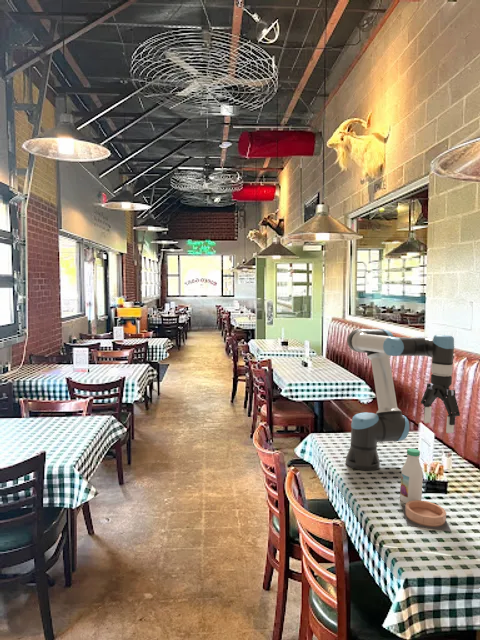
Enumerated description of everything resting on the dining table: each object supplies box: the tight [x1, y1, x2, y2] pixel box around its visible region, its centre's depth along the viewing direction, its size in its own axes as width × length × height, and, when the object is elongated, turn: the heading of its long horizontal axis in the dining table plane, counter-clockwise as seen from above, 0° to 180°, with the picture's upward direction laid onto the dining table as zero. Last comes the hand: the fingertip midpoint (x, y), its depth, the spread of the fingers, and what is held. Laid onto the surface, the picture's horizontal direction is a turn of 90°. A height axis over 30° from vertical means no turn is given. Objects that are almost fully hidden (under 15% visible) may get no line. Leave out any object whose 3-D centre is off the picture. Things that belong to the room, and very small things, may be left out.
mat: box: [400, 504, 453, 532], centre depth 163 cm, size 14×16×1 cm
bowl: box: [404, 499, 447, 527], centre depth 163 cm, size 13×13×3 cm
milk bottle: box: [399, 448, 424, 504], centre depth 176 cm, size 8×8×20 cm
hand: (438, 427), depth 183 cm, fingers open, 13 cm apart
